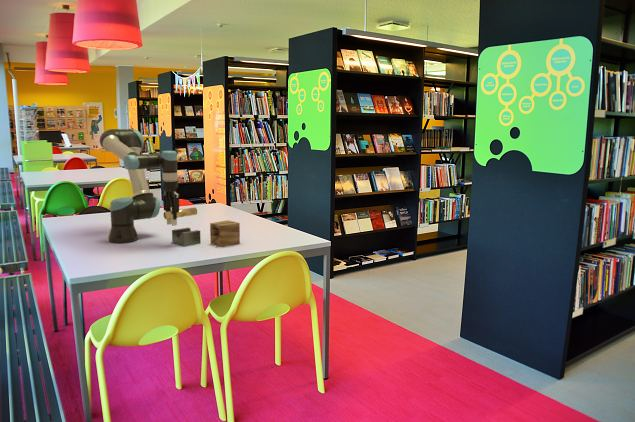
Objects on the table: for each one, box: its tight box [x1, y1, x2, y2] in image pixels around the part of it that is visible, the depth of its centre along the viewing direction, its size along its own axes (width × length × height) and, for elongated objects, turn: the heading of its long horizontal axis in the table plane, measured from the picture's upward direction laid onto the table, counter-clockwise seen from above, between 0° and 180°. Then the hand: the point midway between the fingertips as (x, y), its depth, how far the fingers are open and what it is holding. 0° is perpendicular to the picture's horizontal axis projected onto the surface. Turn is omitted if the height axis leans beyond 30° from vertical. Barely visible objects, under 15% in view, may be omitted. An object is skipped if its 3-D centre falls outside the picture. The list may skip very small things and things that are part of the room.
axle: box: [163, 207, 198, 220], centre depth 265 cm, size 18×4×4 cm, turn 137°
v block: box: [171, 227, 202, 247], centre depth 270 cm, size 12×10×7 cm
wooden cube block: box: [209, 220, 241, 248], centre depth 269 cm, size 10×12×12 cm
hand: (171, 224), depth 262 cm, fingers closed on axle, 4 cm apart
